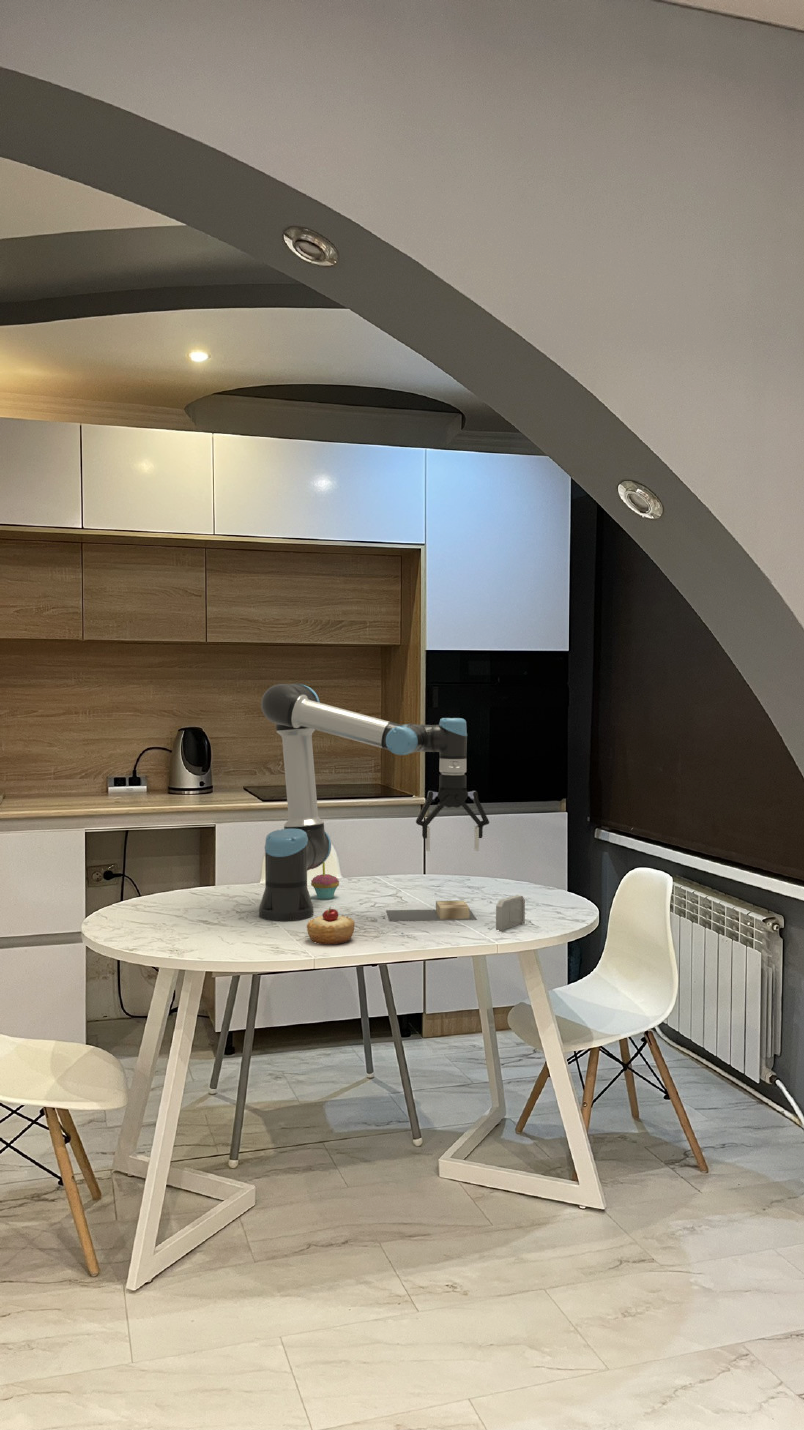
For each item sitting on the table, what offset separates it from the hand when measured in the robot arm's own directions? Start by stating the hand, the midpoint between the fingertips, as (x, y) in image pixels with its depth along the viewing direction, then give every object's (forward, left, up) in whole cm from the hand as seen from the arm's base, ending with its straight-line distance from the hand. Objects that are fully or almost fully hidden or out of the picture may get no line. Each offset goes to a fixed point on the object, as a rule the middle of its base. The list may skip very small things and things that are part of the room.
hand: (452, 850), depth 292 cm
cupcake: (-35, +29, -19) cm, 49 cm away
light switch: (+14, -13, -19) cm, 27 cm away
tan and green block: (0, -6, -17) cm, 17 cm away
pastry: (-34, -25, -19) cm, 46 cm away
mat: (-6, 0, -19) cm, 20 cm away
